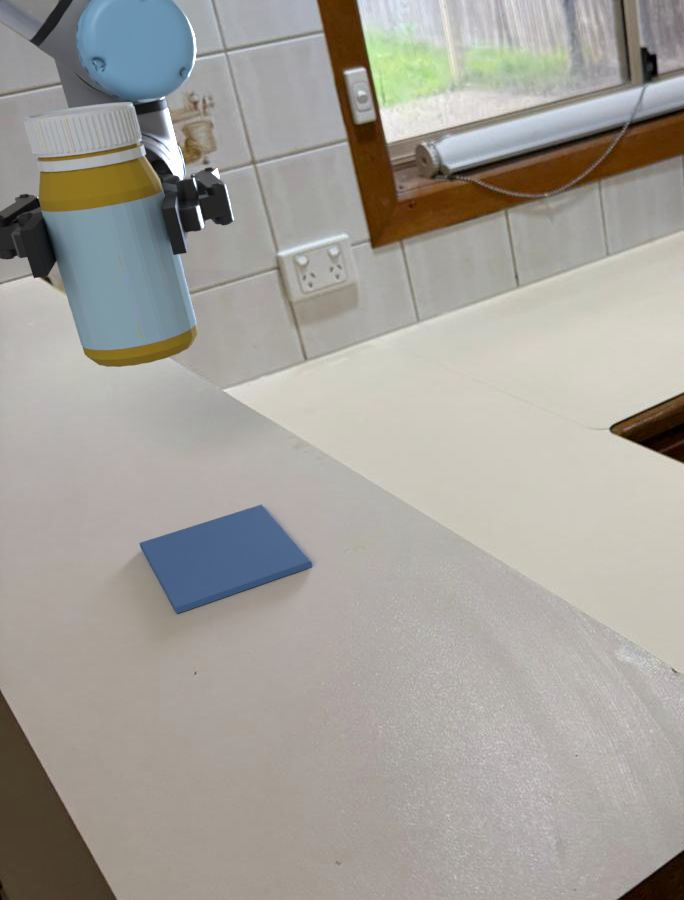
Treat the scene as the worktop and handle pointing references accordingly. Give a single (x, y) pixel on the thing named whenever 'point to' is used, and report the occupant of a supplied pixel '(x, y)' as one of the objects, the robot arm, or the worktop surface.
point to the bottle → (111, 235)
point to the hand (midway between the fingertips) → (105, 242)
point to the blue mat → (222, 557)
